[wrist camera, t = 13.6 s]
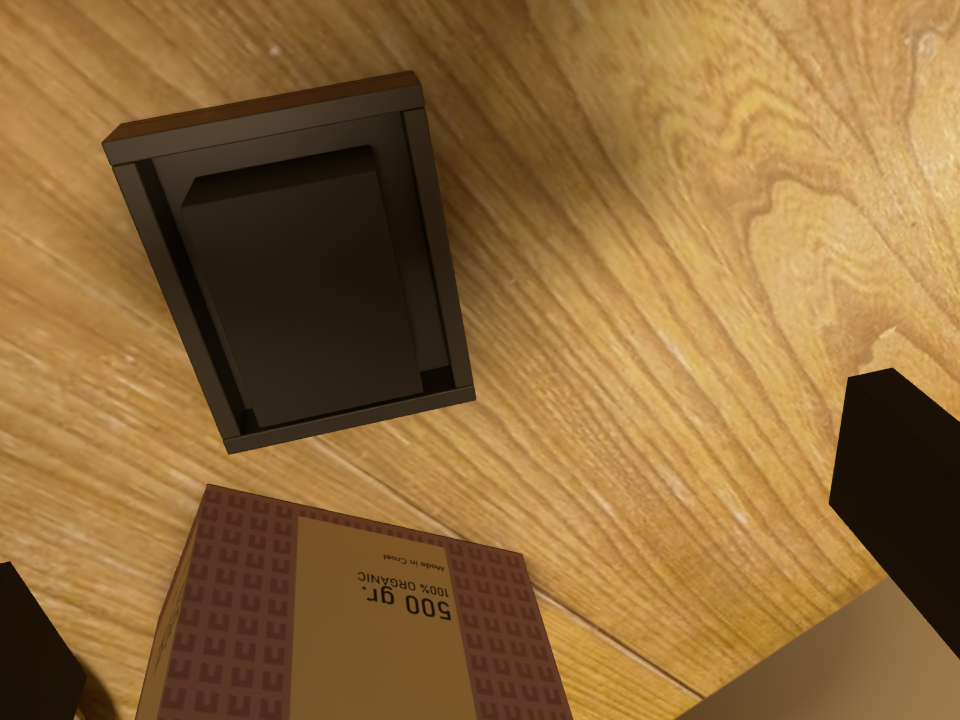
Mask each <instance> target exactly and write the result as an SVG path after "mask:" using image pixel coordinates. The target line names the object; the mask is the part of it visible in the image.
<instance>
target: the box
mask: <svg viewBox="0 0 960 720" xmlns="http://www.w3.org/2000/svg"><path fill="white" fill-rule="evenodd" d="M135 720H573V717H572V714H571V710H570V707H569V704H568V701H567V698H566V694H565V691H564V688H563V685H562V681H561V678H560V675H559V672H558V669H557V665H556V662H555V659H554V656H553V652H552V649H551V646H550V643H549V640H548V636H547V633H546V630H545V627H544V623H543V620H542V617H541V614H540V611H539V607H538V604H537V601H536V598H535V594H534V591H533V588H532V585H531V582H530V578H529V575H528V572H527V569H526V565H525V562H524V559H523V556H522V554H519V553H514V552H510V551H505V550H501V549H496V548H492V547H487V546H483V545H478V544H474V543H469V542H465V541H460V540H456V539H451V538H447V537H442V536H438V535H433V534H429V533H424V532H420V531H415V530H411V529H406V528H402V527H397V526H393V525H388V524H384V523H379V522H375V521H370V520H366V519H361V518H357V517H352V516H348V515H343V514H339V513H334V512H330V511H325V510H321V509H316V508H312V507H307V506H303V505H298V504H294V503H289V502H285V501H280V500H276V499H271V498H267V497H262V496H258V495H253V494H249V493H244V492H240V491H235V490H231V489H226V488H222V487H217V486H213V485H208V484H207V487H206V490H205V492H204V495H203V498H202V501H201V503H200V506H199V509H198V512H197V514H196V517H195V520H194V523H193V525H192V528H191V531H190V534H189V536H188V539H187V542H186V545H185V547H184V550H183V553H182V556H181V558H180V561H179V564H178V567H177V569H176V572H175V575H174V578H173V580H172V583H171V586H170V589H169V591H168V594H167V597H166V600H165V602H164V605H163V608H162V611H161V613H160V616H159V620H158V624H157V628H156V632H155V637H154V641H153V645H152V649H151V653H150V658H149V662H148V666H147V670H146V674H145V679H144V683H143V687H142V691H141V695H140V700H139V704H138V708H137V712H136V716H135Z"/></svg>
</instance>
